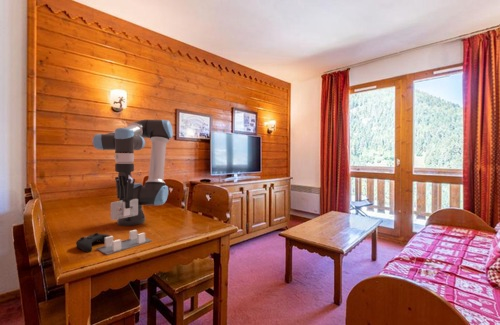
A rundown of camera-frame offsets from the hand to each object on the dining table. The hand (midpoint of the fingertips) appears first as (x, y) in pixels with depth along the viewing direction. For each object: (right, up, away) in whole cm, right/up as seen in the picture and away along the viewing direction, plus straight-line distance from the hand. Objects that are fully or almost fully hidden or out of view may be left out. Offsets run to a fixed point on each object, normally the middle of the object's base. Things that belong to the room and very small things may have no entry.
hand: (125, 214), depth 110 cm
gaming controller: (-14, -14, 0) cm, 20 cm away
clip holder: (0, -14, +1) cm, 14 cm away
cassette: (0, -1, 0) cm, 1 cm away
